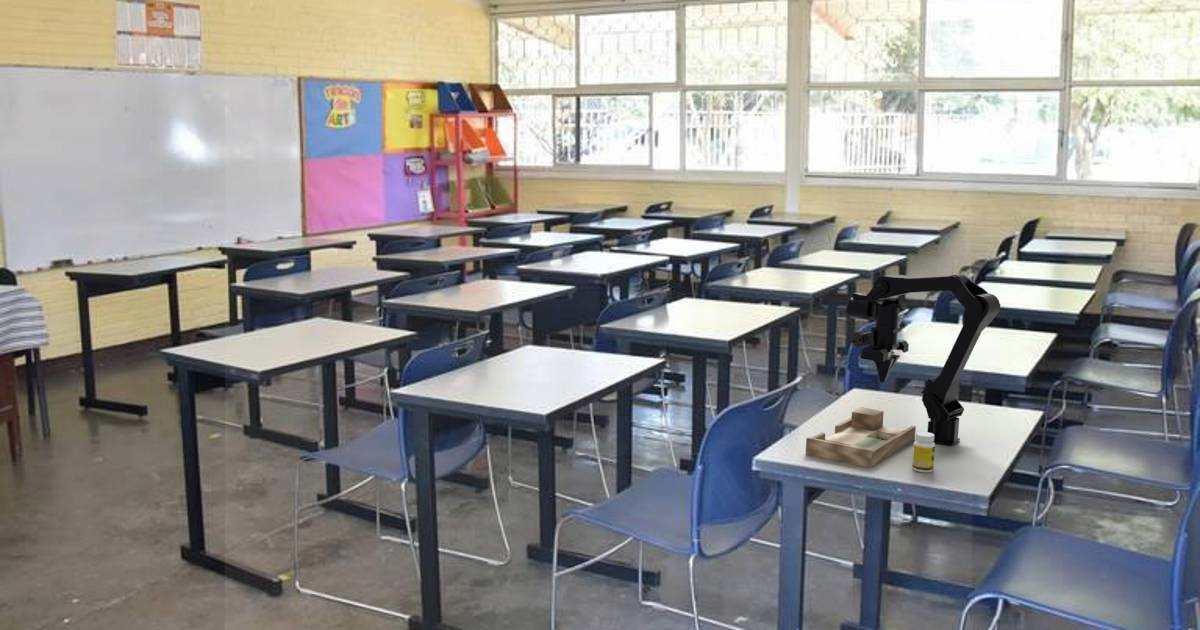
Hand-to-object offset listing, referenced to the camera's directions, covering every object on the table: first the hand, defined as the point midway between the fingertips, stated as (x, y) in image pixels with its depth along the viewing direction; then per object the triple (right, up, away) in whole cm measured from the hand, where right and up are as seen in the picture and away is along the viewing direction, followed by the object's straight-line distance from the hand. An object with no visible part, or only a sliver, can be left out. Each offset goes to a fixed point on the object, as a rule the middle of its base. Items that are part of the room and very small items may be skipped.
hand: (882, 382), depth 270 cm
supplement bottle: (0, -18, -33) cm, 38 cm away
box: (-9, -15, -16) cm, 24 cm away
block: (-6, -11, -5) cm, 13 cm away
